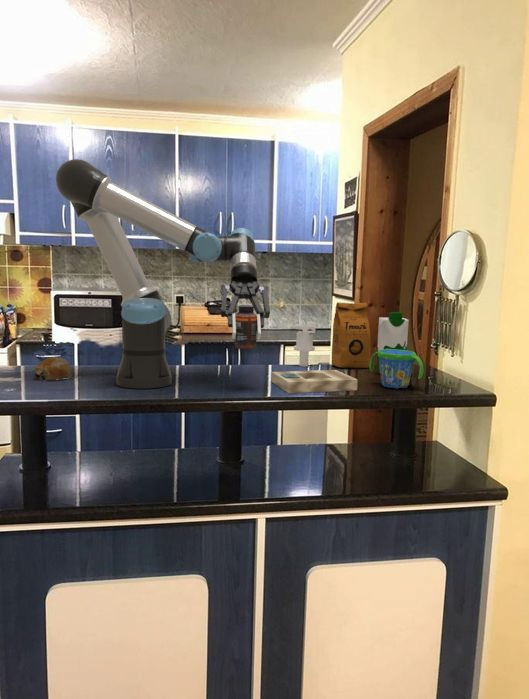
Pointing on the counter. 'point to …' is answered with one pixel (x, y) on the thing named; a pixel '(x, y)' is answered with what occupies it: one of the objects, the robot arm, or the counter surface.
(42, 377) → the bread roll
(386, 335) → the milk carton
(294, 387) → the birch socket block
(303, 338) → the pale grey stepped figure
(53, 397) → the counter surface
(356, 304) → the coffee package
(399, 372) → the snack cup
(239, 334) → the supplement bottle
